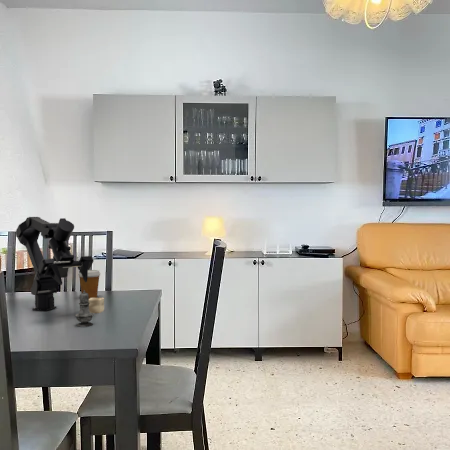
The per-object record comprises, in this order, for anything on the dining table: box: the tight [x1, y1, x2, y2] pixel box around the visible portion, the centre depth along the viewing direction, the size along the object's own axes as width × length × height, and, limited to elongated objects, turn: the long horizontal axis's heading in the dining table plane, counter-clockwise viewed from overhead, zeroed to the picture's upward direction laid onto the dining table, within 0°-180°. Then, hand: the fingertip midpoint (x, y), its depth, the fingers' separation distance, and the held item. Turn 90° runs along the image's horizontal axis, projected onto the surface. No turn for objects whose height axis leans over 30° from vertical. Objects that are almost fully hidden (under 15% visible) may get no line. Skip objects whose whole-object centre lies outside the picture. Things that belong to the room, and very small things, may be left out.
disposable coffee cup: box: [77, 269, 101, 299], centre depth 205 cm, size 10×10×12 cm
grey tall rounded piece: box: [75, 290, 94, 328], centre depth 157 cm, size 6×6×12 cm
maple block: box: [89, 297, 105, 314], centre depth 178 cm, size 5×5×5 cm
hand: (74, 283), depth 163 cm, fingers open, 9 cm apart
